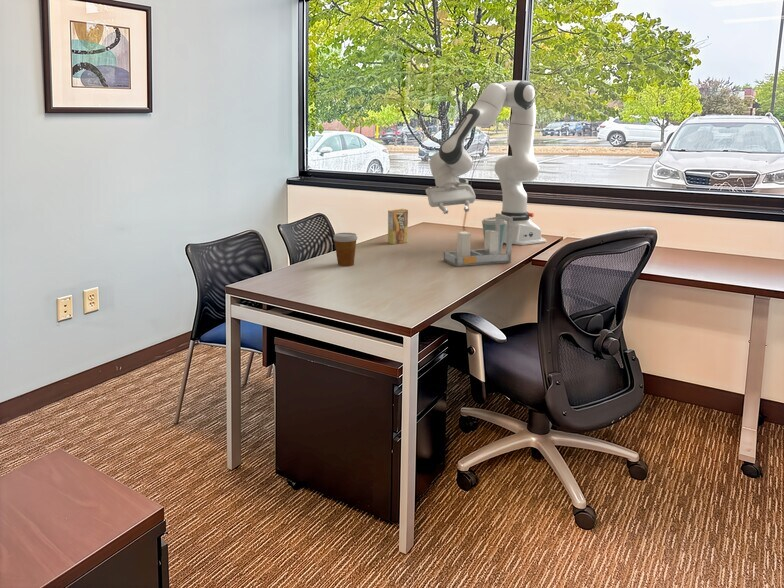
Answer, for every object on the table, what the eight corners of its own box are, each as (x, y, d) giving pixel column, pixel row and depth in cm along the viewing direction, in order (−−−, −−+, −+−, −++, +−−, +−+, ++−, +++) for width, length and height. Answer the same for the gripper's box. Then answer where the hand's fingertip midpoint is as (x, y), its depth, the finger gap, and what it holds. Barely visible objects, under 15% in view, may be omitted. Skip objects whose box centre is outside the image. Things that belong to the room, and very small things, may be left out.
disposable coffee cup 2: (486, 255, 268) (488, 220, 264) (476, 250, 278) (477, 216, 274) (509, 254, 270) (511, 219, 266) (499, 249, 280) (500, 215, 276)
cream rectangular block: (464, 258, 258) (465, 231, 255) (470, 260, 253) (470, 233, 250) (456, 258, 257) (457, 231, 254) (461, 261, 252) (462, 234, 249)
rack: (497, 256, 266) (499, 213, 261) (511, 262, 255) (513, 217, 250) (443, 260, 259) (444, 216, 254) (455, 266, 248) (456, 220, 243)
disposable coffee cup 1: (333, 262, 256) (333, 232, 253) (357, 261, 257) (357, 232, 254) (333, 267, 247) (332, 236, 244) (358, 267, 248) (357, 236, 245)
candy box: (402, 241, 300) (402, 208, 296) (408, 242, 297) (408, 209, 293) (387, 243, 295) (387, 210, 291) (393, 244, 292) (393, 211, 288)
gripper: (425, 183, 265) (435, 209, 259) (471, 179, 271) (481, 204, 264) (422, 192, 270) (431, 218, 264) (467, 188, 276) (476, 214, 270)
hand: (456, 211), depth 264 cm, fingers open, 8 cm apart
